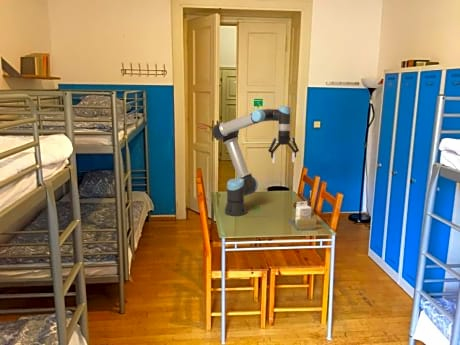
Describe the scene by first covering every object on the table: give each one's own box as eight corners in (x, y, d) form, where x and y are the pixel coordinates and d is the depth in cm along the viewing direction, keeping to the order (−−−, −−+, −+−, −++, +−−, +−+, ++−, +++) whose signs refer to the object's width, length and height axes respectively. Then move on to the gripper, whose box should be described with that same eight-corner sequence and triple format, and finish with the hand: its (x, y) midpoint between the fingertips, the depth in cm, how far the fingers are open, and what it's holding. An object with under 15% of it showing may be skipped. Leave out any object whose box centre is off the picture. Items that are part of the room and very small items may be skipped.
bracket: (297, 230, 244) (297, 219, 243) (288, 221, 262) (288, 211, 261) (316, 229, 246) (316, 218, 245) (306, 220, 264) (306, 210, 262)
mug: (293, 216, 272) (293, 203, 271) (292, 213, 280) (293, 200, 278) (311, 217, 271) (311, 203, 269) (310, 213, 279) (310, 200, 277)
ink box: (299, 227, 248) (300, 203, 245) (295, 224, 253) (295, 201, 250) (311, 225, 251) (312, 202, 249) (306, 223, 256) (307, 200, 253)
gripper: (266, 131, 257) (266, 163, 261) (304, 130, 261) (303, 163, 265) (264, 130, 264) (263, 162, 268) (300, 129, 268) (299, 161, 272)
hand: (283, 162), depth 266 cm, fingers open, 13 cm apart
